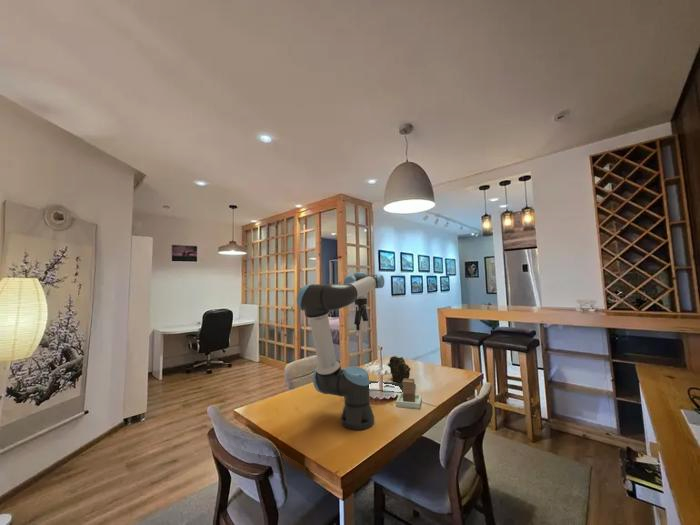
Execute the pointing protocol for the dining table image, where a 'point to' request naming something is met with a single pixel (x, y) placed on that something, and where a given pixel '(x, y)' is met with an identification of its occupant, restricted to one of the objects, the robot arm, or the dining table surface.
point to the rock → (399, 369)
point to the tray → (409, 404)
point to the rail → (391, 383)
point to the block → (408, 390)
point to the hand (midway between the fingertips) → (361, 333)
